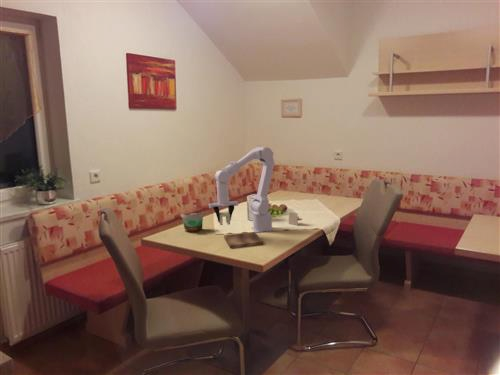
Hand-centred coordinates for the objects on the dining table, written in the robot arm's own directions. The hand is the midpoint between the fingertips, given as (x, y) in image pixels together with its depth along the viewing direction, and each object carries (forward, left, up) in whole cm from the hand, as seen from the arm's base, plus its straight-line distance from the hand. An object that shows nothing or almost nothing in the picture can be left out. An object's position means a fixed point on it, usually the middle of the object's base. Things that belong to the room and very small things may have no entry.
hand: (224, 220), depth 211 cm
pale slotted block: (0, 0, -2) cm, 2 cm away
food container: (+14, -14, -9) cm, 22 cm away
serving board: (-7, +11, -8) cm, 15 cm away
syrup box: (-22, -24, -9) cm, 34 cm away
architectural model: (-40, -7, -9) cm, 41 cm away
